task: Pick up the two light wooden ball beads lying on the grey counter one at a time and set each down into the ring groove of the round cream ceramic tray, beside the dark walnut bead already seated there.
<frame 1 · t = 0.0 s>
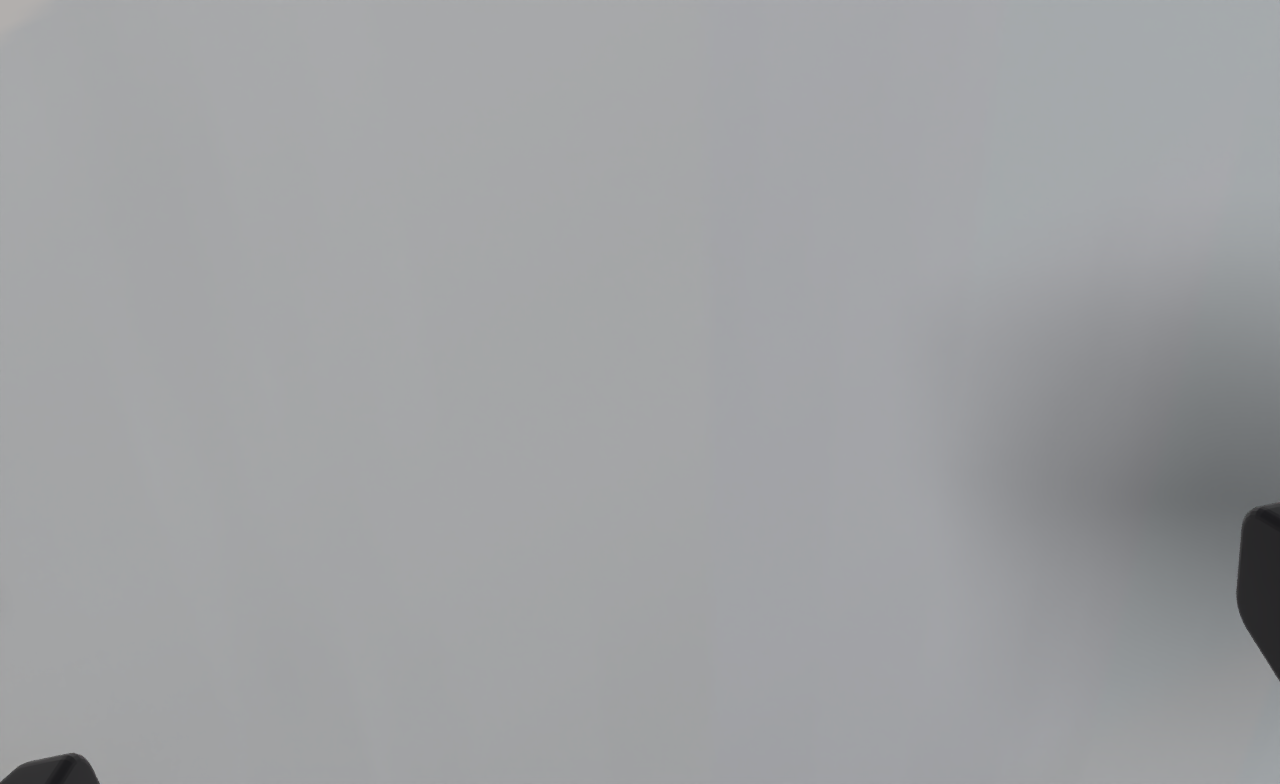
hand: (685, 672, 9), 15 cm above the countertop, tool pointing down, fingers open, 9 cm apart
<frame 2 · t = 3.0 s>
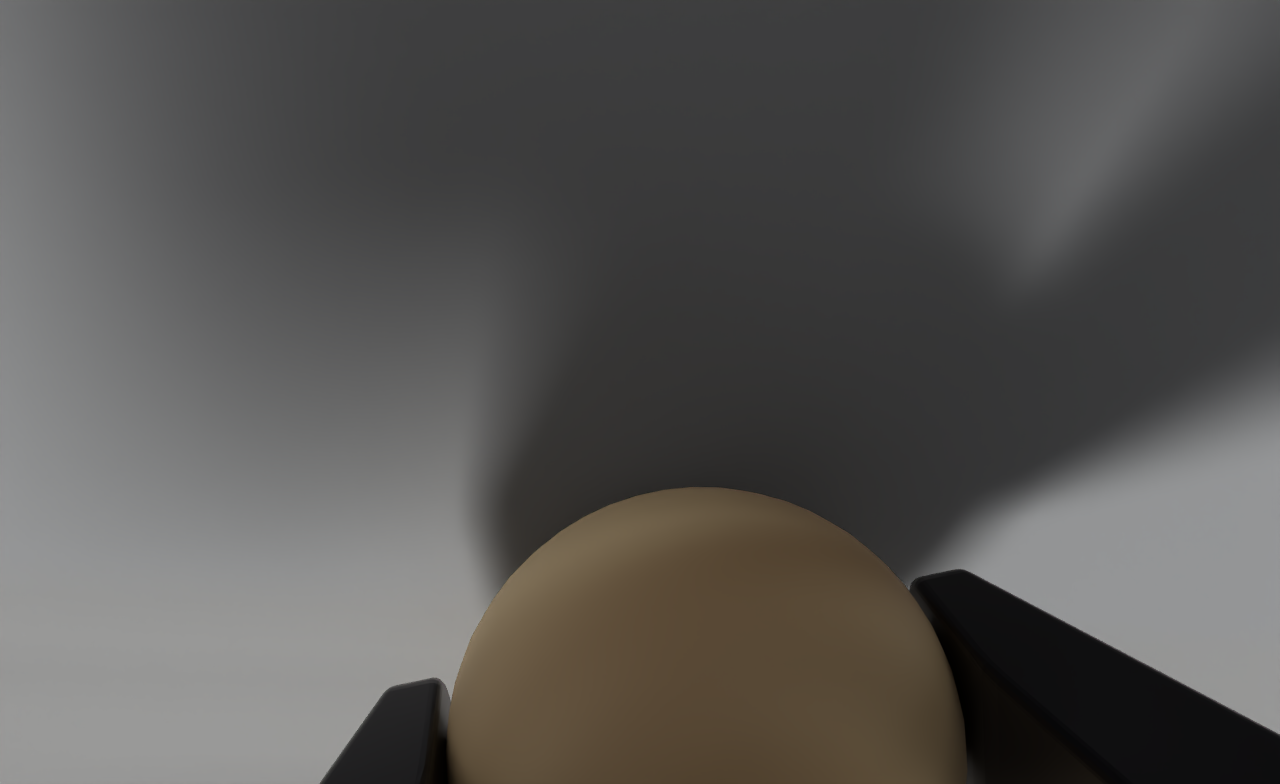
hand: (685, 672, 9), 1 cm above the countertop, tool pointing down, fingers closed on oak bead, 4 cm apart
oak bead: (703, 742, 9), point 2 cm above the countertop, touching gripper
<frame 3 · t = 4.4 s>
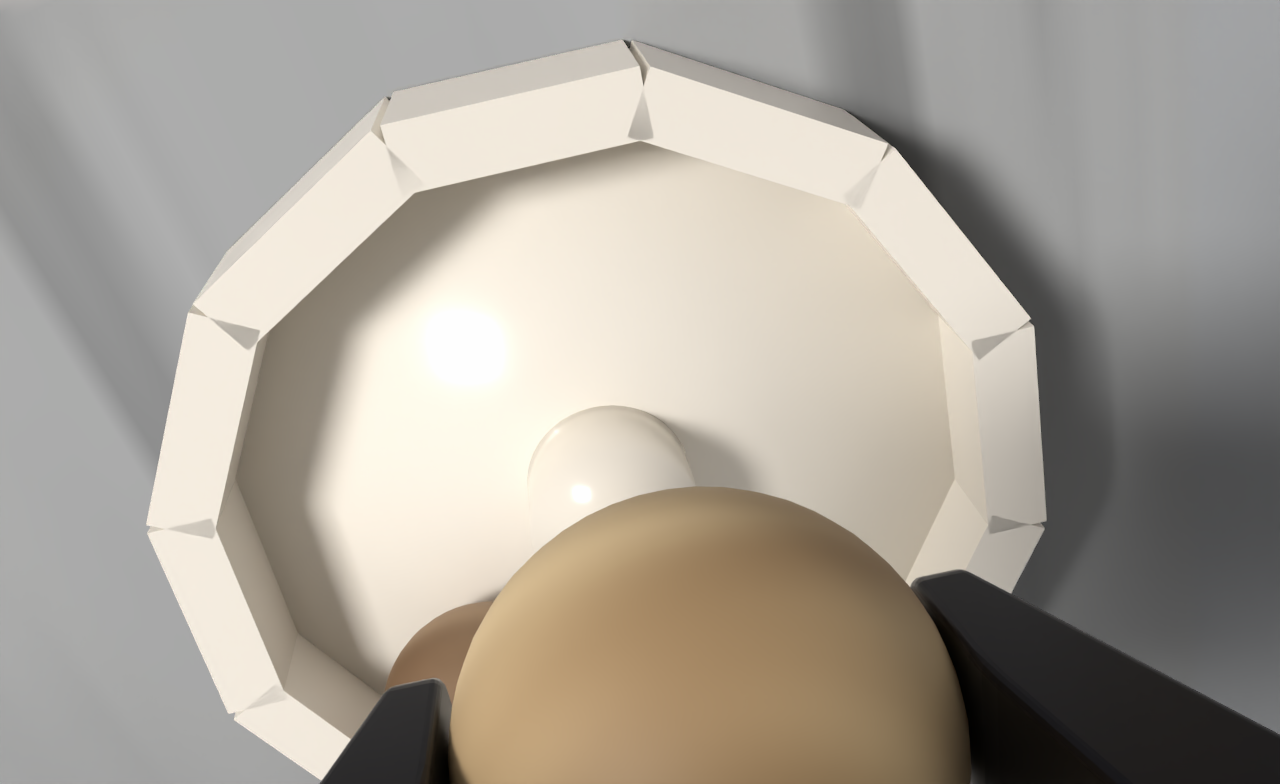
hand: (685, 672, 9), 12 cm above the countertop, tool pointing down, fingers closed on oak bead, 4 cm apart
oak bead: (706, 742, 8), point 12 cm above the countertop, touching gripper
walnut bead: (490, 709, 20), point 3 cm above the countertop, touching groove tray
groove tray: (604, 457, 21), on the countertop
when the fingers open (3 cm above the countertop, at t = 6.2 s): oak bead drops 1 cm, resting on groove tray.
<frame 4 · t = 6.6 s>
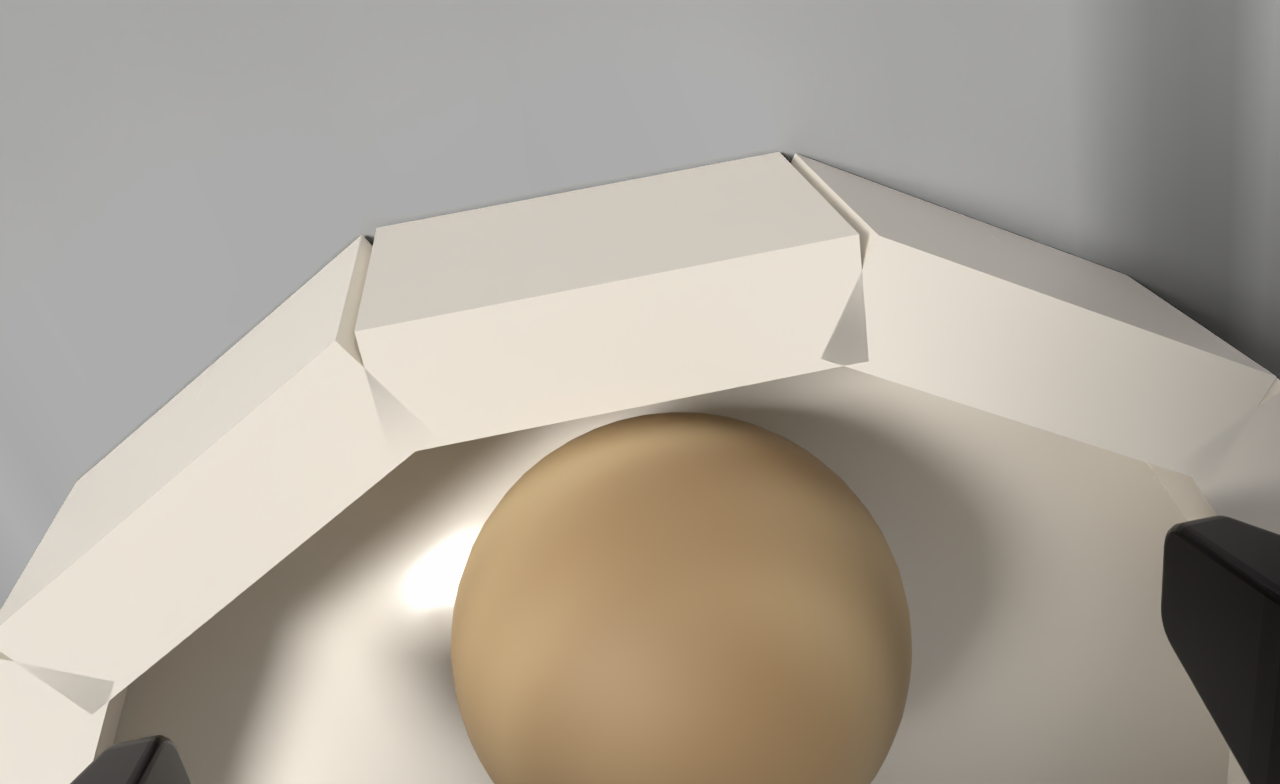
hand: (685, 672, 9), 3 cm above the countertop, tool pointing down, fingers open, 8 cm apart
oak bead: (679, 638, 10), point 3 cm above the countertop, touching groove tray
groove tray: (687, 781, 14), on the countertop
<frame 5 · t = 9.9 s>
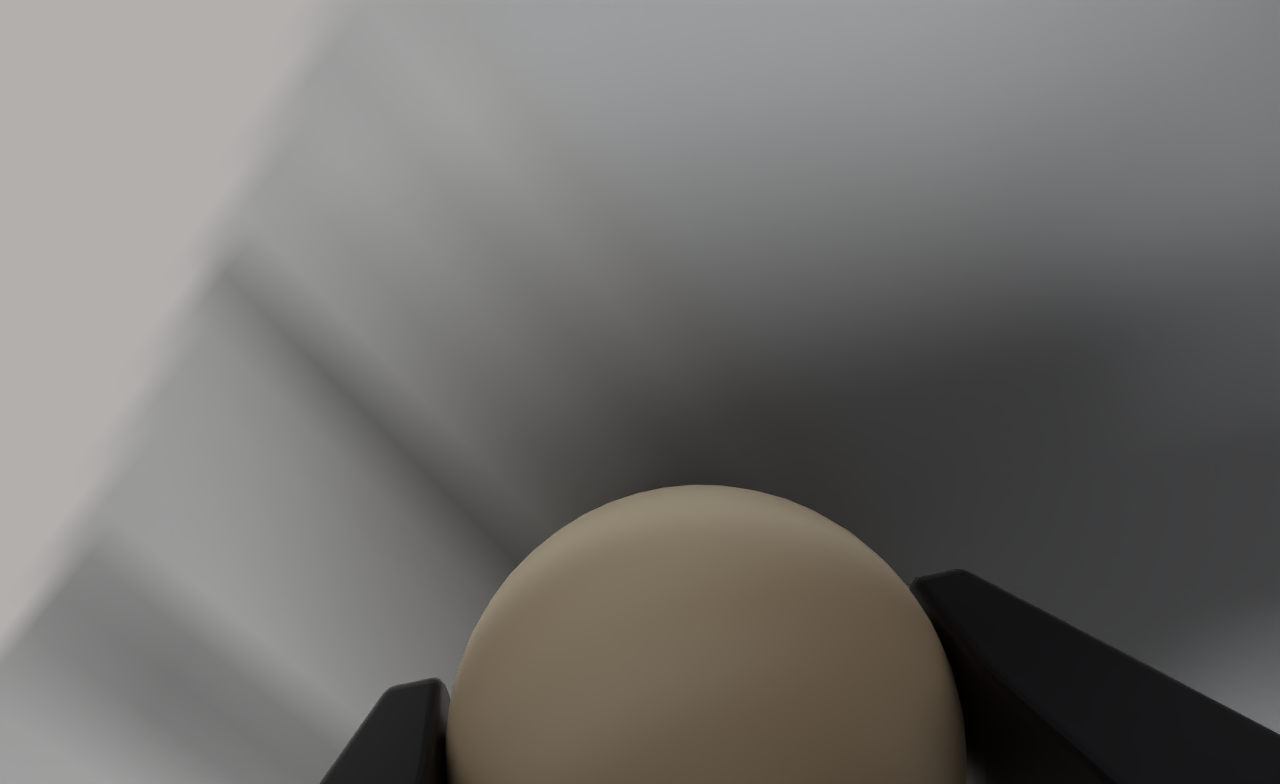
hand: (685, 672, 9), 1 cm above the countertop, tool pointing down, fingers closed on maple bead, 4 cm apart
maple bead: (703, 740, 8), point 2 cm above the countertop, touching gripper
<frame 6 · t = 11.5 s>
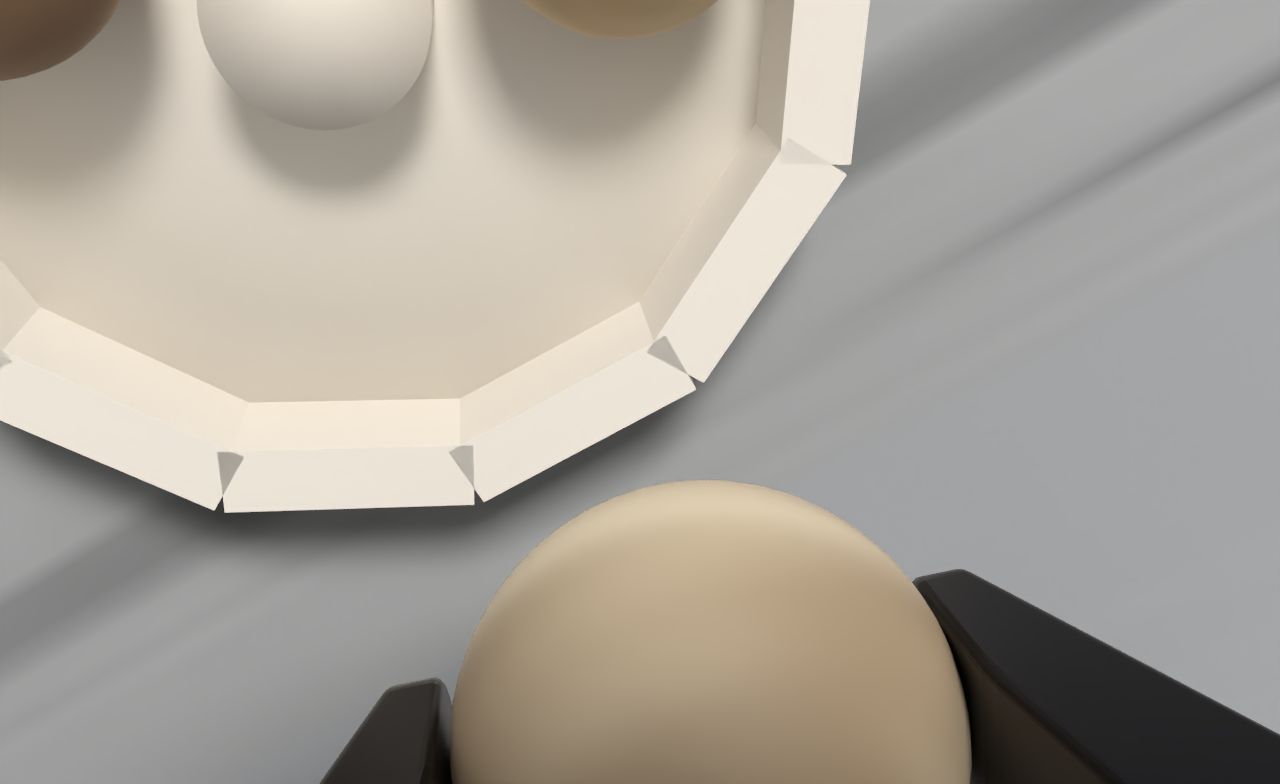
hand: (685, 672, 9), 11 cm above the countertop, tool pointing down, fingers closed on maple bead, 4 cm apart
maple bead: (707, 735, 8), point 12 cm above the countertop, touching gripper
when the fingers open (3 cm above the countertop, at t = 13.4 s): maple bead drops 1 cm, resting on groove tray.
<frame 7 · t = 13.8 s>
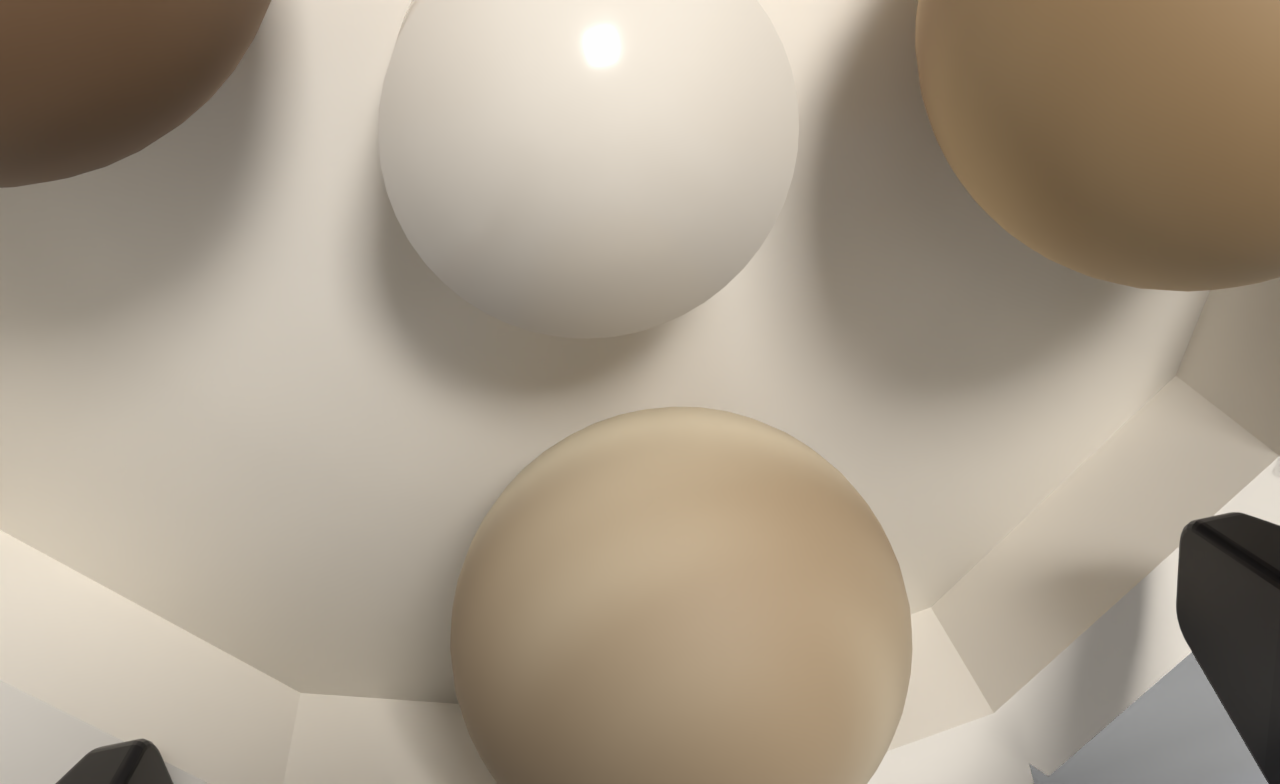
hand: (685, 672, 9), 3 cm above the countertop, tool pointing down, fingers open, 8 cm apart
oak bead: (1194, 18, 8), point 3 cm above the countertop, tilted 17°, touching groove tray
maple bead: (679, 633, 10), point 3 cm above the countertop, touching groove tray
groove tray: (565, 76, 10), on the countertop
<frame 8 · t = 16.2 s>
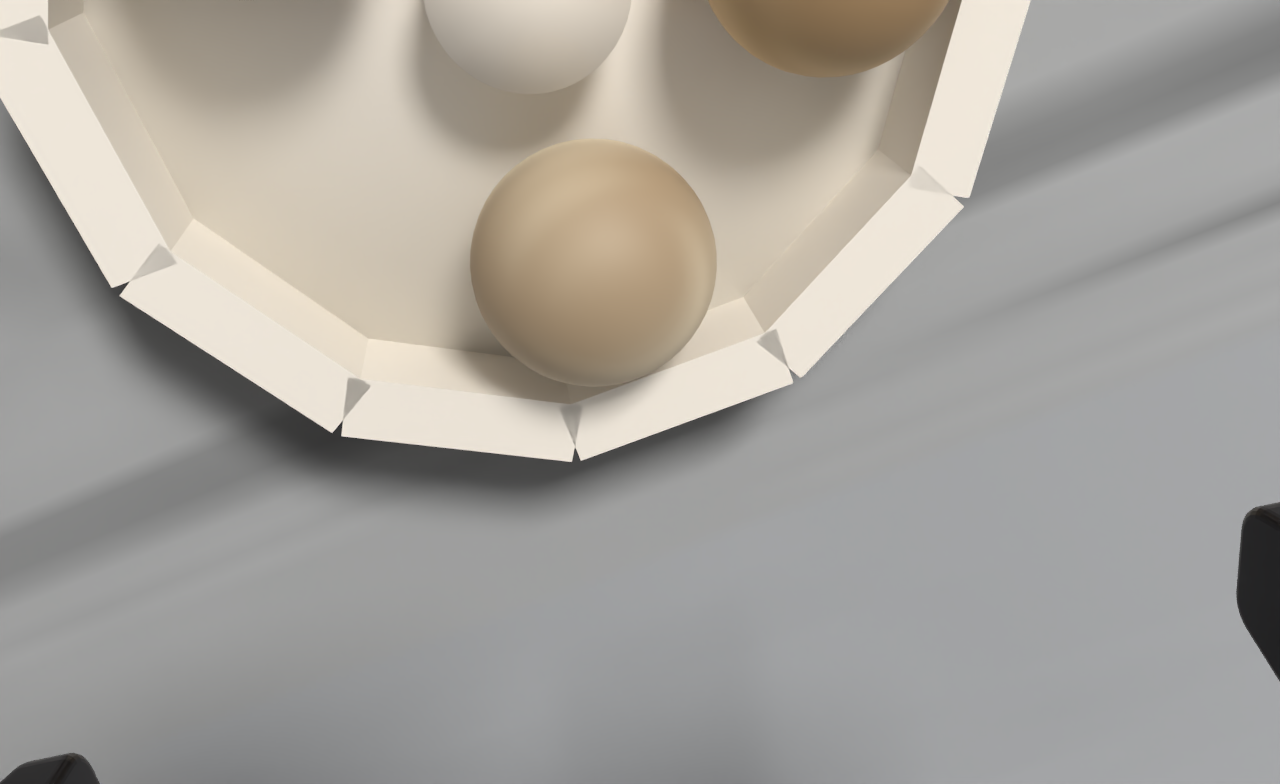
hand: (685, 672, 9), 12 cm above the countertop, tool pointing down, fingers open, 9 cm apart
maple bead: (593, 263, 18), point 3 cm above the countertop, tilted 7°, touching groove tray
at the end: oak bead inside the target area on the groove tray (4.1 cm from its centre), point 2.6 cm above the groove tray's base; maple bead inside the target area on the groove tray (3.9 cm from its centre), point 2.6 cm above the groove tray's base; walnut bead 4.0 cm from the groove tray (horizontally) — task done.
